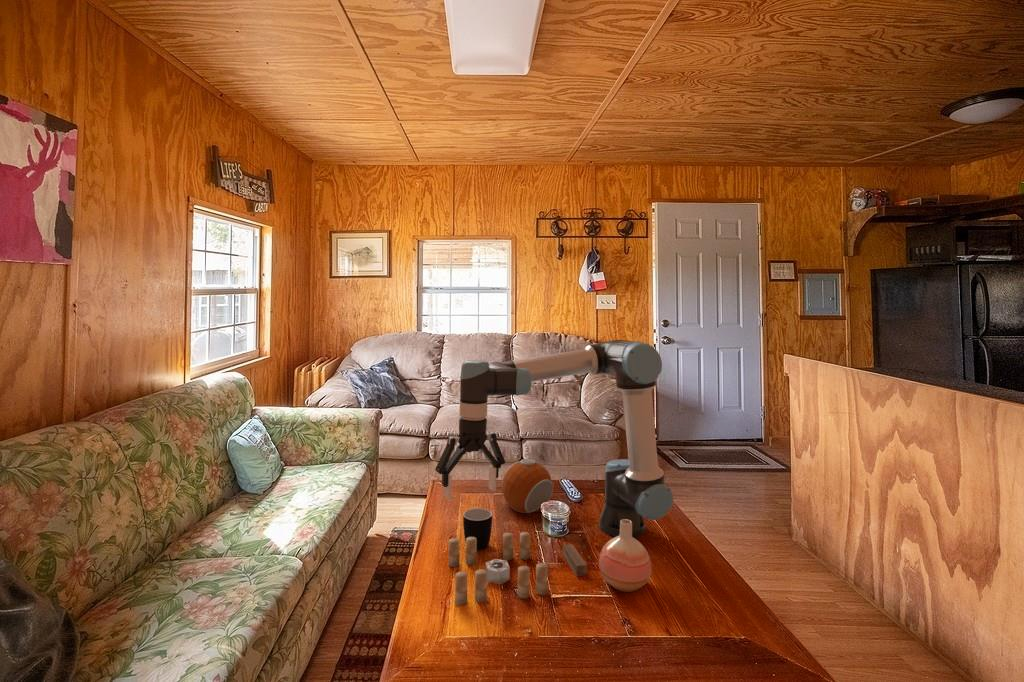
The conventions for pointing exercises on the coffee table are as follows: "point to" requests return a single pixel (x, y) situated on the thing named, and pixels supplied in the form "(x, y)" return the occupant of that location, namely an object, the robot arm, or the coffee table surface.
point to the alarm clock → (526, 486)
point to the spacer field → (482, 574)
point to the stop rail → (574, 560)
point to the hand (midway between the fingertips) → (470, 493)
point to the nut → (497, 571)
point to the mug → (478, 526)
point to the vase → (625, 560)
